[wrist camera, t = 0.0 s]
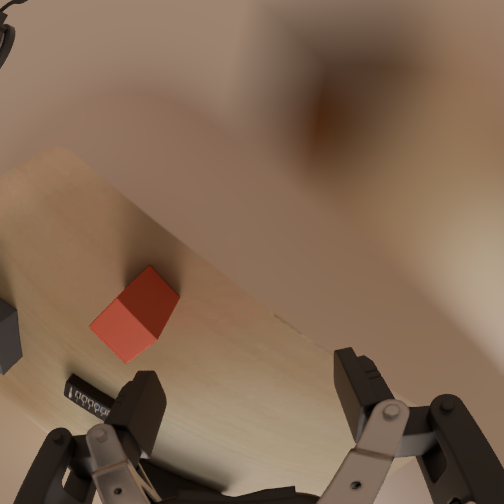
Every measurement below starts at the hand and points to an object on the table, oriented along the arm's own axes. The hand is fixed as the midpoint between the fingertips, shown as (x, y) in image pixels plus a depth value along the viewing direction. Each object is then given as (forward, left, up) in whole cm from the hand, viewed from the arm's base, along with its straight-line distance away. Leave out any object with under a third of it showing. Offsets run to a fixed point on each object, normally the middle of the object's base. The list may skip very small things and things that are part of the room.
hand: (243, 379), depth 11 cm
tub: (+26, -36, -19) cm, 48 cm away
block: (+8, -9, -19) cm, 23 cm away
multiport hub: (+31, -13, -19) cm, 39 cm away
